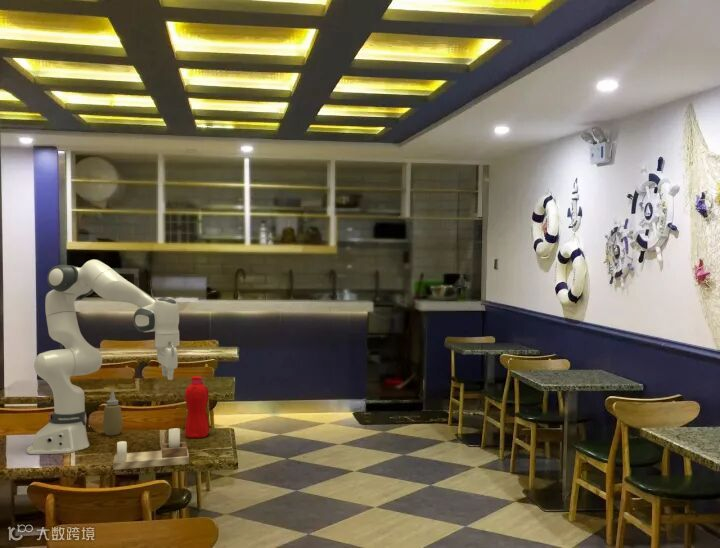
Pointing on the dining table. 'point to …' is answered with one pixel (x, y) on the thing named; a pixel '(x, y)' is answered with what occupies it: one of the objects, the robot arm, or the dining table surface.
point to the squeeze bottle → (112, 417)
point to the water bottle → (196, 409)
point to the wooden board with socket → (155, 458)
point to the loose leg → (174, 437)
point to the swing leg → (121, 451)
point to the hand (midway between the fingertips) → (167, 377)
